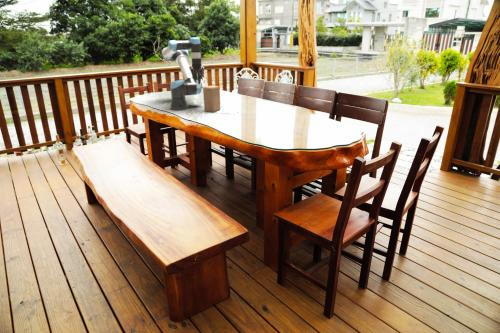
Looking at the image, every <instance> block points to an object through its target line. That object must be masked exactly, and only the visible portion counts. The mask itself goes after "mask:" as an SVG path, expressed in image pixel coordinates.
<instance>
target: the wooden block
mask: <svg viewBox="0 0 500 333" xmlns="http://www.w3.org/2000/svg"><path fill="white" fill-rule="evenodd" d="M202 90H203V107H204V108H203V109H204V110H203V111H205V112H210V113H216V112H218V111H220V110H221V96H220V95H221V93H220V92H221V91H220V86H218V85H206V86H203V87H202Z"/></svg>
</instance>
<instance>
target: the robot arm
mask: <svg viewBox="0 0 500 333" xmlns="http://www.w3.org/2000/svg"><path fill="white" fill-rule="evenodd" d="M167 44H168V45H167V47H164V48H163V49H162V50H161V52H160V53H161V57H162V58H163V59H164V60H165V61H167V62H175V63H176V64H177V65H178V66H179V69H180V72H181V73H182V78H183V79H179V80H174V81H171V82H170V86H169V87H170V88H169V89H170V95H171V102H170V105H169V106H170V110H173V111H181V110H182V111H183V110H187V109H189V104H188V101H187V100H186V96H197V95H198V96H199V95H201V93H202V90H203V87H202V81H201V80H202V79H203V78H204V71H205V69H206V67H205V66H203V65H202V64H203V63H202V52H201V39H200V37H198V36H197V37H190V39H187V40H186V39H181V40H180V39H179V40H178V39H177V40H174V39H172V40H169V41H168V43H167ZM189 51H190V54H191V56H190V54H189ZM190 57H191V66H190V64H189V60H190Z"/></svg>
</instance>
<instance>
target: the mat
mask: <svg viewBox="0 0 500 333" xmlns="http://www.w3.org/2000/svg"><path fill="white" fill-rule="evenodd" d="M240 111H241V109H229V108H220V110H219V111H215V113H216V114H226V115H227V114H230V115H235V114H237V113H239V112H240Z"/></svg>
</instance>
